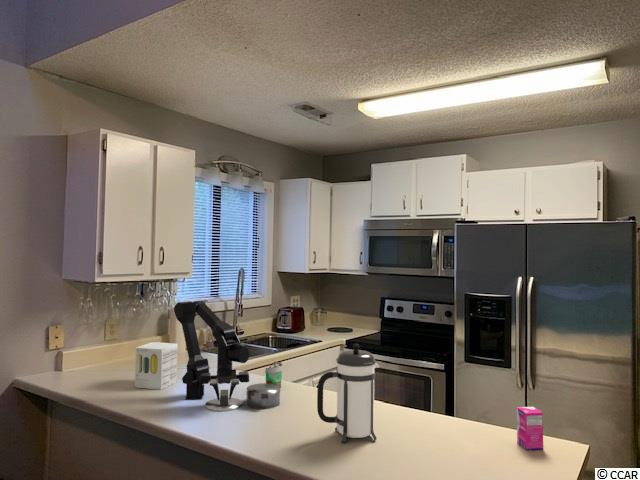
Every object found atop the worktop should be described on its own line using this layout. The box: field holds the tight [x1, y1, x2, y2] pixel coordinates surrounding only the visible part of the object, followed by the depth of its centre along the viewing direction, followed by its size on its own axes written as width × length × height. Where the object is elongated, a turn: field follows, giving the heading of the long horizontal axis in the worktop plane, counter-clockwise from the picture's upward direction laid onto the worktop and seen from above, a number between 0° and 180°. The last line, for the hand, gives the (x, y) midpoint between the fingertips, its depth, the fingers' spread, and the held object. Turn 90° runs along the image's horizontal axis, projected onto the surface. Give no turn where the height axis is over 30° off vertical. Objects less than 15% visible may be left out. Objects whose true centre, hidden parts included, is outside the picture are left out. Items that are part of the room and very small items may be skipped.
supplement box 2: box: [516, 406, 544, 451], centre depth 147 cm, size 6×6×12 cm
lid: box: [205, 389, 243, 412], centre depth 183 cm, size 14×14×5 cm
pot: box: [245, 382, 281, 410], centre depth 185 cm, size 13×16×6 cm
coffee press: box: [316, 343, 380, 444], centre depth 153 cm, size 17×16×30 cm
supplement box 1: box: [134, 341, 179, 391], centre depth 210 cm, size 13×13×18 cm
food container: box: [265, 361, 284, 389], centre depth 206 cm, size 12×6×10 cm, turn 168°
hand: (224, 400), depth 183 cm, fingers open, 4 cm apart
